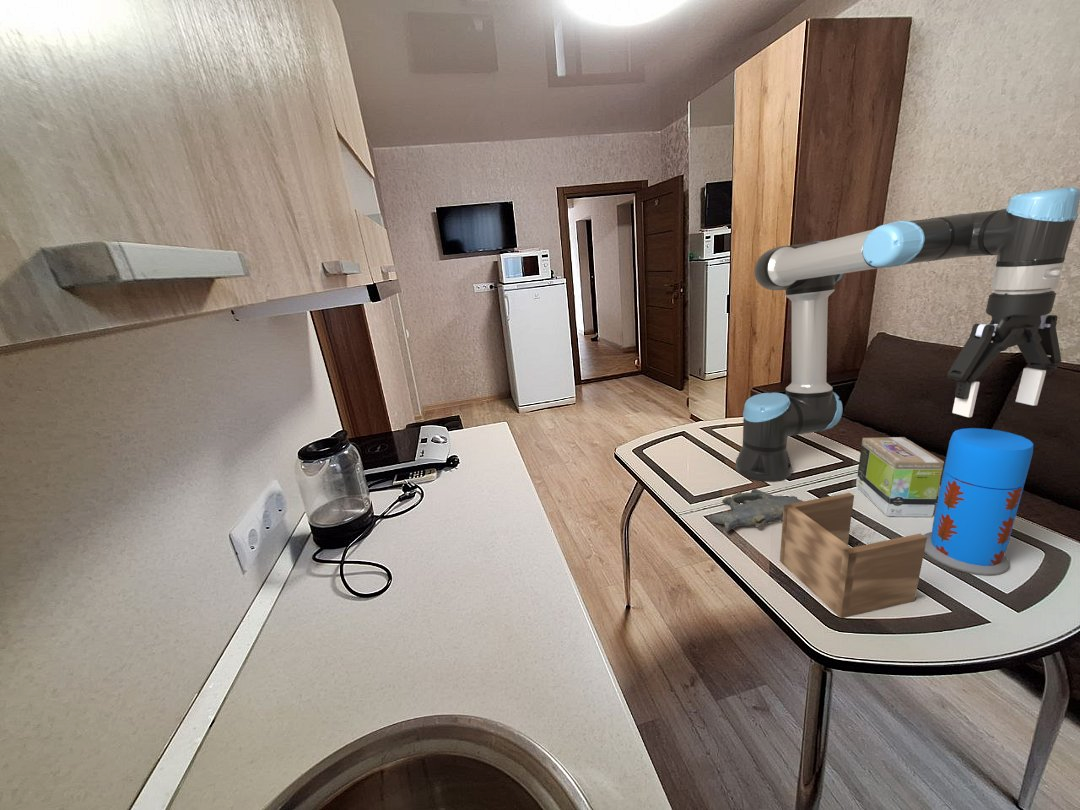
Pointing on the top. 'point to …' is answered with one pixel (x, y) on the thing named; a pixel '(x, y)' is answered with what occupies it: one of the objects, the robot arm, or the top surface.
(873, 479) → the tea box
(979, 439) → the thermos
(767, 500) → the stone fish figurine
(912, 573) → the walnut cubby
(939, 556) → the coaster
